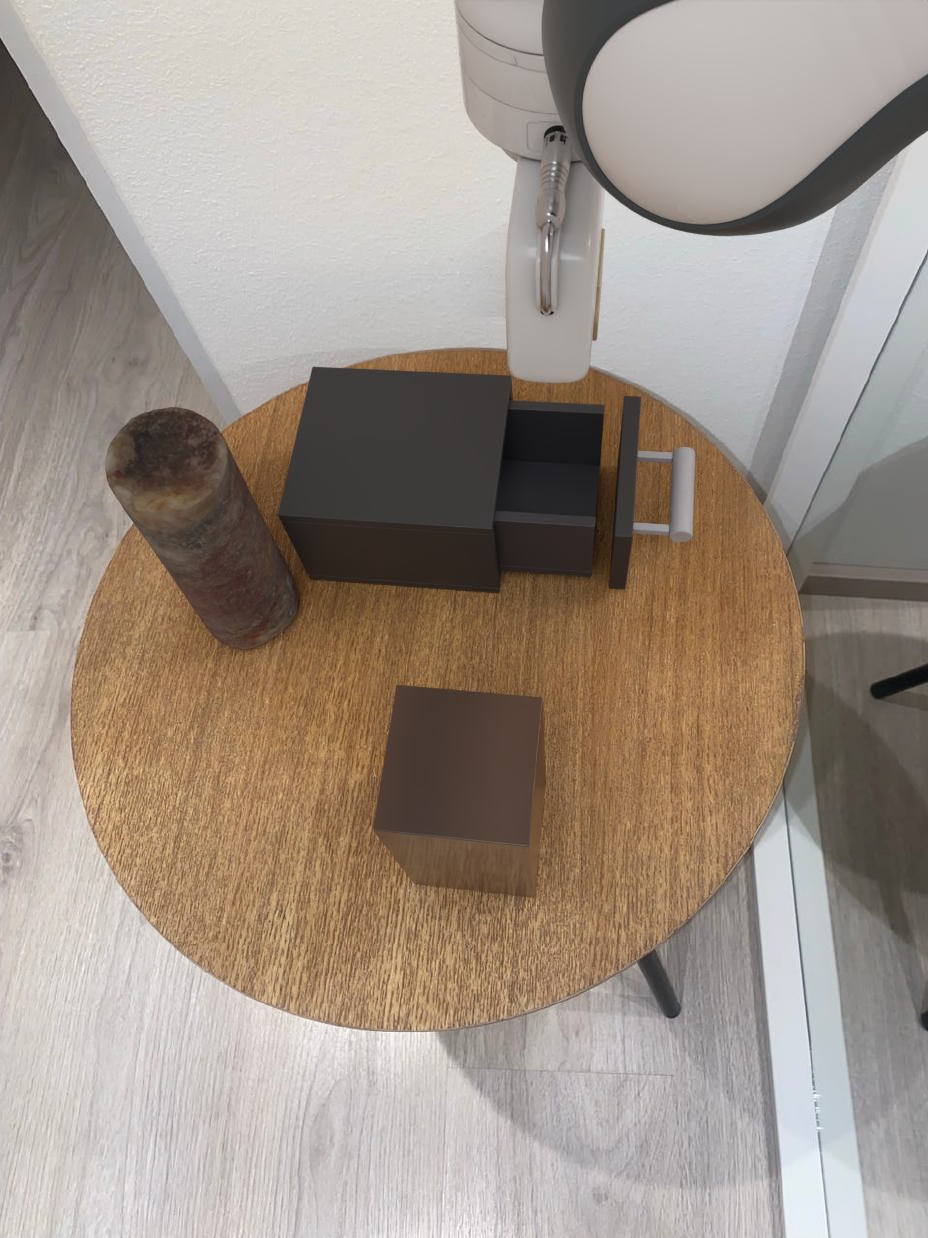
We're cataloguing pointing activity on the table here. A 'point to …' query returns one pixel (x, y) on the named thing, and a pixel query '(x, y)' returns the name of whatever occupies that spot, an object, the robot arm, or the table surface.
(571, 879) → the table surface
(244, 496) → the brown cylinder
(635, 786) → the table surface
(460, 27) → the robot arm
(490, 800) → the stand
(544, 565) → the drawer
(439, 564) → the dark box sleeve
